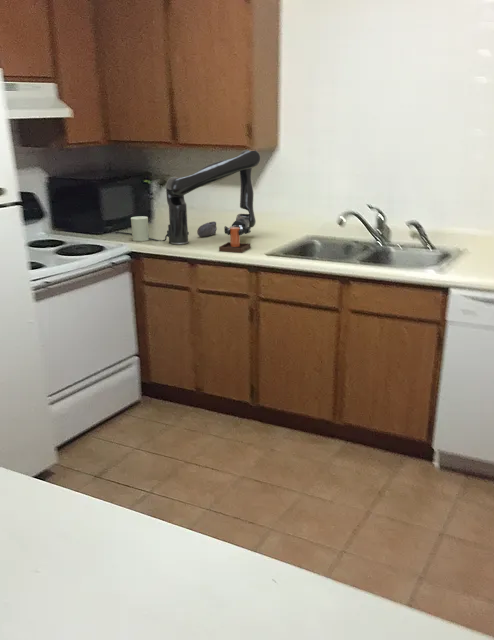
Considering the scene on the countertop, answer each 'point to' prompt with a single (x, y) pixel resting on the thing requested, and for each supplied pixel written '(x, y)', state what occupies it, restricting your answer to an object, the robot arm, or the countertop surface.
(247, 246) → the stand
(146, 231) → the can
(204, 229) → the perforated stone tool
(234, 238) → the orange block
